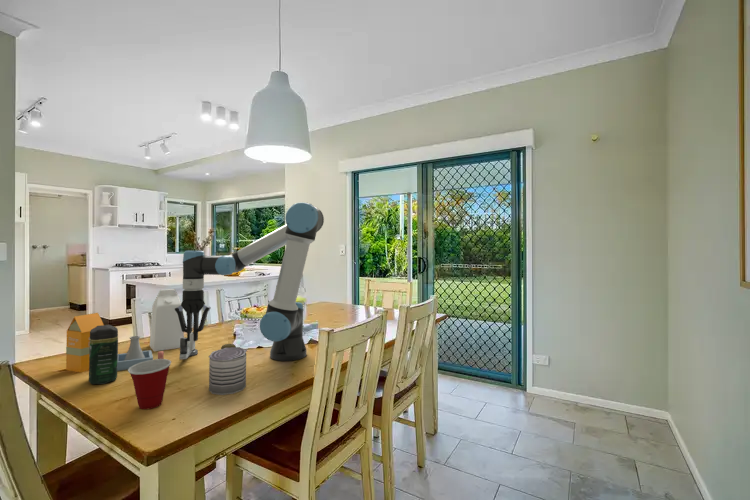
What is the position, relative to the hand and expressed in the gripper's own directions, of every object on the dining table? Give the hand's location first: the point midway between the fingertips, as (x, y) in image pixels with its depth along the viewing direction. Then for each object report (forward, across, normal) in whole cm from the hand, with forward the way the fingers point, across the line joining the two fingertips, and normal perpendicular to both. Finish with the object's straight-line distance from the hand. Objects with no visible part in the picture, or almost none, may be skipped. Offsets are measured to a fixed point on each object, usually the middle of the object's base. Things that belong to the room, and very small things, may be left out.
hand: (192, 349), depth 146 cm
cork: (+6, +17, -15) cm, 23 cm away
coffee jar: (+6, -24, -16) cm, 29 cm away
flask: (+5, -22, +2) cm, 22 cm away
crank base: (+5, -5, +13) cm, 14 cm away
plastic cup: (+7, 0, -39) cm, 40 cm away
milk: (+5, -19, +27) cm, 33 cm away
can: (+7, +19, -28) cm, 35 cm away
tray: (+5, -22, +2) cm, 22 cm away
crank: (+4, -4, +7) cm, 9 cm away
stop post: (+5, -13, +3) cm, 14 cm away
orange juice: (+6, -37, -1) cm, 37 cm away
